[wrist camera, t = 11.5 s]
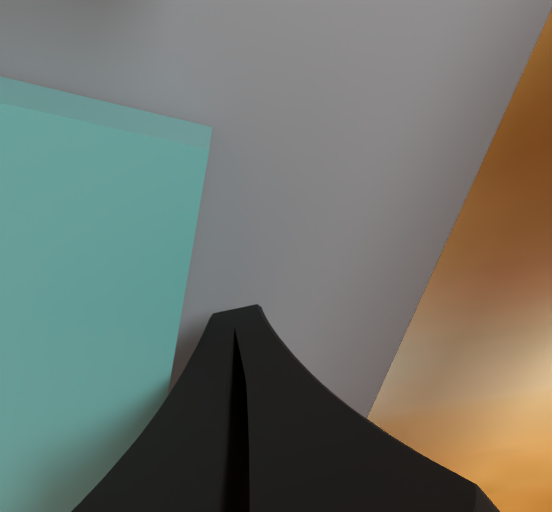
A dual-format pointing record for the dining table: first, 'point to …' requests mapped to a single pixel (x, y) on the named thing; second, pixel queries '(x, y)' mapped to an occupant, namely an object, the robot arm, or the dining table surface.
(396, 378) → the dining table surface
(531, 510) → the dining table surface
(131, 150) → the housing
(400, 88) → the base plate
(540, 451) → the dining table surface
